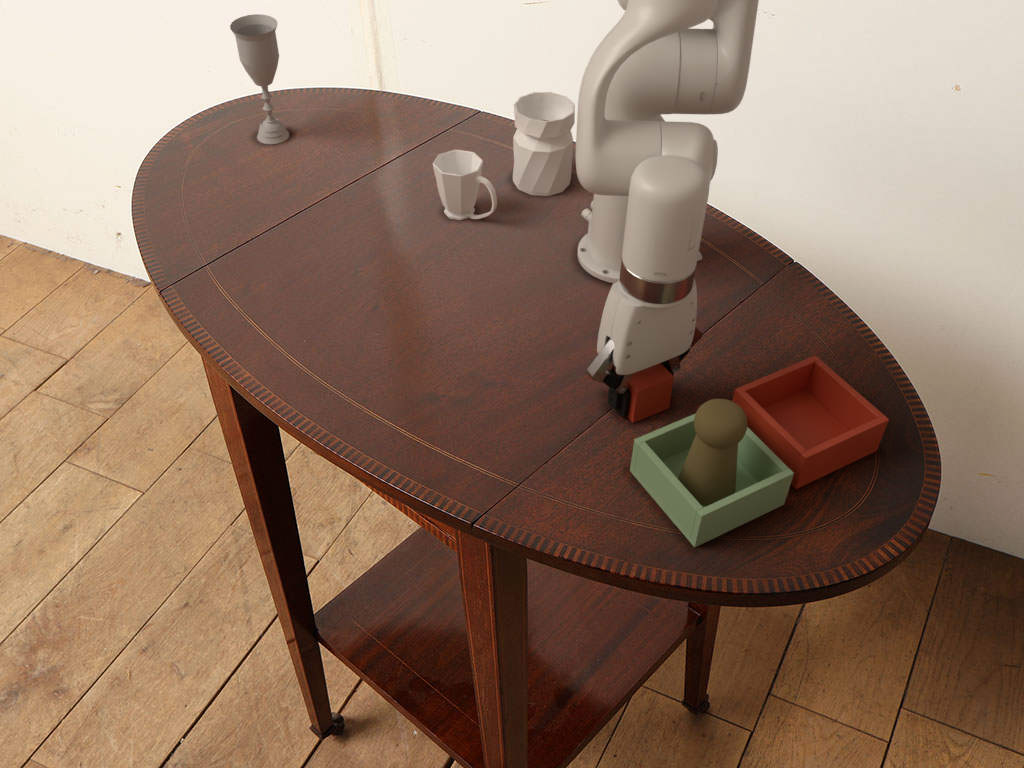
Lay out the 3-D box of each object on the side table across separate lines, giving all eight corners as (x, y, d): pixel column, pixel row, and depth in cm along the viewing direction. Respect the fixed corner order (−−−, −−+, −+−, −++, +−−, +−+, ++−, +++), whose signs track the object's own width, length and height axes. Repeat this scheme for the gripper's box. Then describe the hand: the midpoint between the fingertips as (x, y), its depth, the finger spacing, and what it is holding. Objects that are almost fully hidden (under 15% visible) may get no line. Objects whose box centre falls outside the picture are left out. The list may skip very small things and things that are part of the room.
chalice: (253, 125, 158) (232, 15, 146) (296, 123, 159) (279, 13, 146) (249, 148, 153) (227, 36, 140) (293, 146, 153) (276, 34, 141)
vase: (553, 202, 143) (557, 128, 135) (501, 185, 146) (502, 111, 138) (580, 174, 149) (586, 101, 140) (530, 158, 152) (532, 86, 143)
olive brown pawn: (729, 462, 106) (747, 388, 99) (740, 506, 102) (760, 432, 94) (673, 463, 106) (687, 389, 98) (682, 507, 102) (697, 433, 94)
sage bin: (629, 470, 106) (634, 439, 102) (715, 433, 110) (722, 401, 107) (694, 547, 99) (701, 516, 95) (784, 504, 103) (794, 473, 99)
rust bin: (727, 420, 112) (734, 388, 108) (805, 386, 116) (815, 355, 112) (795, 489, 104) (805, 458, 101) (876, 451, 108) (889, 419, 105)
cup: (455, 192, 145) (454, 143, 139) (510, 216, 140) (511, 166, 135) (424, 213, 140) (421, 164, 135) (480, 239, 136) (479, 189, 131)
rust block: (608, 396, 114) (612, 364, 111) (644, 381, 116) (648, 350, 112) (632, 423, 111) (637, 391, 108) (669, 408, 113) (674, 376, 109)
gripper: (701, 232, 106) (679, 357, 119) (566, 278, 100) (558, 405, 113) (745, 270, 101) (718, 396, 114) (607, 320, 95) (593, 448, 108)
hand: (638, 399), depth 113 cm, fingers closed on rust block, 5 cm apart
